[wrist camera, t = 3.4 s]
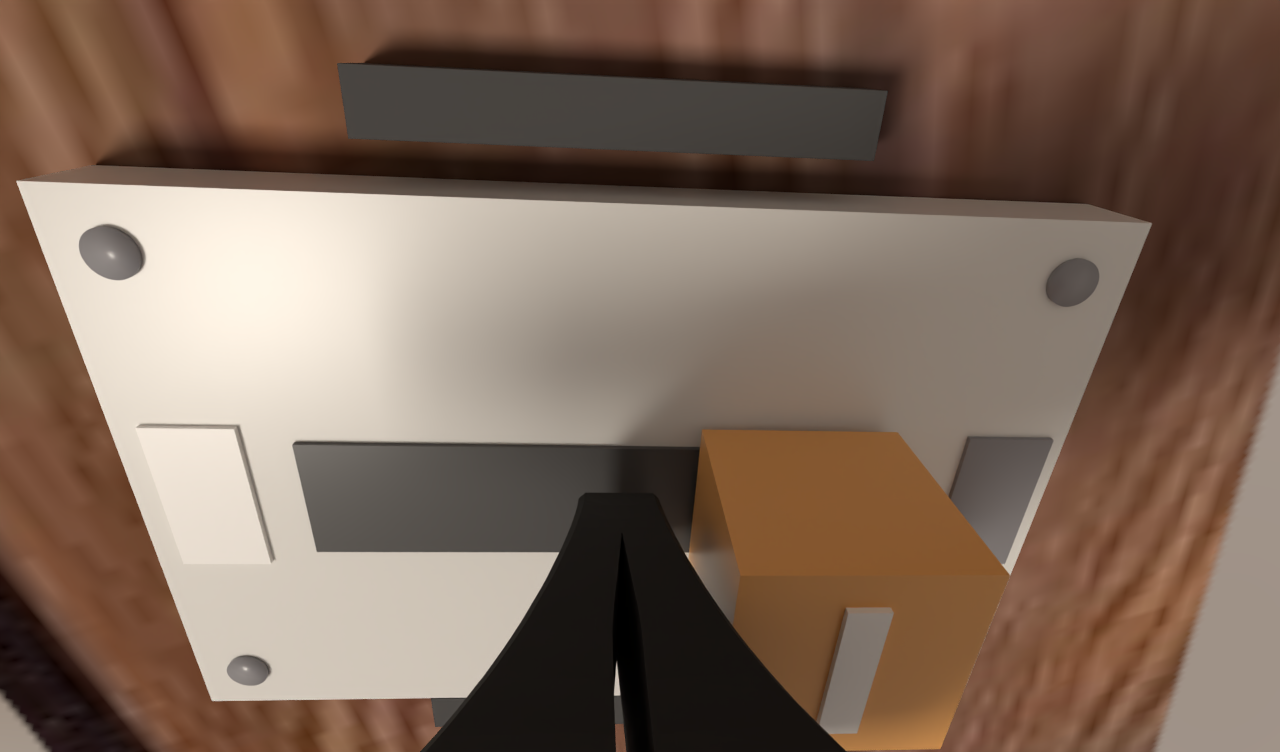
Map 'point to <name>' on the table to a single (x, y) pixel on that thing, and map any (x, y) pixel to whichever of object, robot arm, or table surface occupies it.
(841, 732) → the orange cube
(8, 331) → the table surface
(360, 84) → the twin dark grey rails
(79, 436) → the table surface
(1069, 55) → the table surface
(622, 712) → the robot arm
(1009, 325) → the panel
